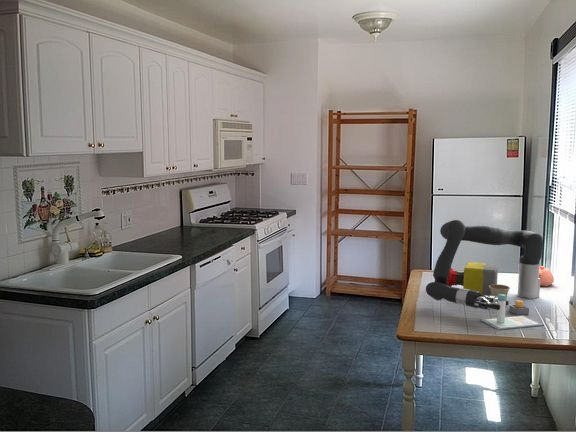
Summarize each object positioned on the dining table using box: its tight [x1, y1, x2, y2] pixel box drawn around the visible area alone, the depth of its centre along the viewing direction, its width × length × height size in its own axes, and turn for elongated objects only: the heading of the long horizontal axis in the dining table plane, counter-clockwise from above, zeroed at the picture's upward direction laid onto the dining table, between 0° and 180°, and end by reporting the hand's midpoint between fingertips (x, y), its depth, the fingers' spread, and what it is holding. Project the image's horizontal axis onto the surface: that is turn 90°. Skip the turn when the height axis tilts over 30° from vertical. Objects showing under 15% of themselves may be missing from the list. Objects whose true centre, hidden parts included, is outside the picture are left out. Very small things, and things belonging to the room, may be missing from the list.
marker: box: [496, 294, 506, 323], centre depth 236 cm, size 3×3×12 cm
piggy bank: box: [539, 265, 555, 288], centre depth 298 cm, size 12×14×10 cm
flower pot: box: [489, 283, 511, 301], centre depth 264 cm, size 9×9×9 cm
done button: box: [514, 299, 525, 308], centre depth 251 cm, size 4×4×4 cm
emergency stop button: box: [447, 261, 499, 296], centre depth 282 cm, size 15×24×15 cm, turn 65°
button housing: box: [508, 304, 530, 316], centre depth 251 cm, size 6×6×3 cm
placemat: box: [480, 315, 544, 331], centre depth 238 cm, size 22×13×1 cm, turn 103°
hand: (504, 305), depth 235 cm, fingers open, 8 cm apart
